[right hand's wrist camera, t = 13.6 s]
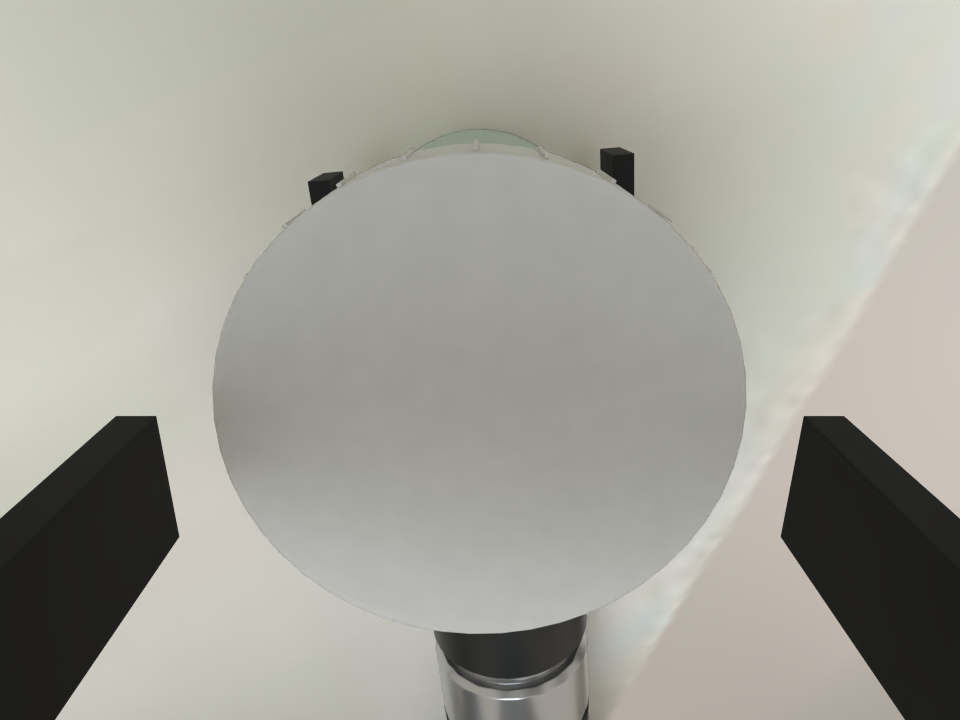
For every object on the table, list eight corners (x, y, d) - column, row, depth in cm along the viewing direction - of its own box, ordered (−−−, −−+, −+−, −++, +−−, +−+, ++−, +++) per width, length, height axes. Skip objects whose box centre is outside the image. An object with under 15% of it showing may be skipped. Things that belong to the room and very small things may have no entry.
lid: (145, 333, 16) (92, 371, 14) (547, 23, 14) (560, 10, 12) (431, 636, 20) (425, 704, 18) (795, 432, 17) (840, 481, 15)
